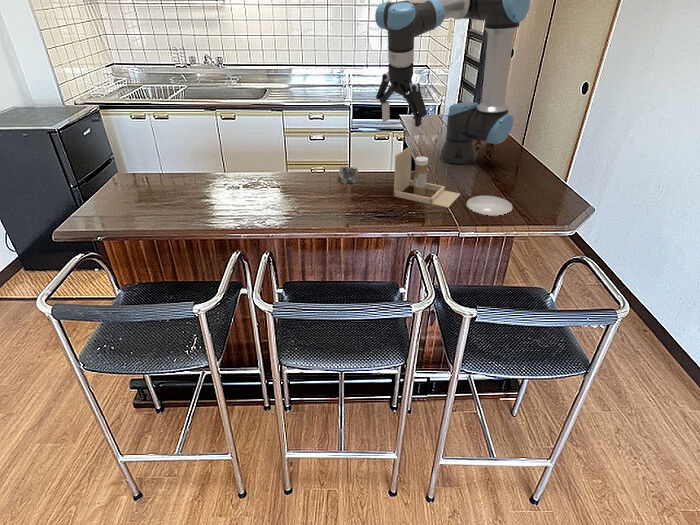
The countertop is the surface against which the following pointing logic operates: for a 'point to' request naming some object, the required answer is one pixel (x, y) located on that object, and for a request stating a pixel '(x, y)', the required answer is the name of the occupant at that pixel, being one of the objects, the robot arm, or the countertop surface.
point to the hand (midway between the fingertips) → (400, 127)
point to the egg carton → (348, 174)
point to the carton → (404, 181)
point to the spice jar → (420, 175)
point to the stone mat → (489, 205)
